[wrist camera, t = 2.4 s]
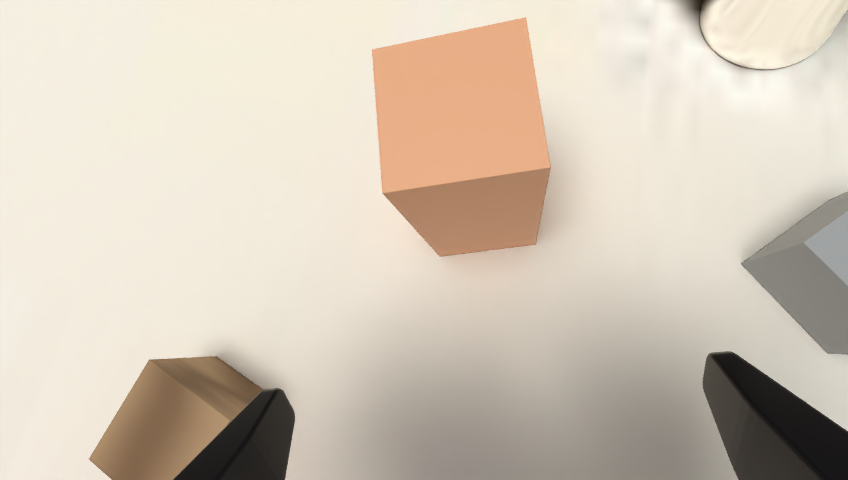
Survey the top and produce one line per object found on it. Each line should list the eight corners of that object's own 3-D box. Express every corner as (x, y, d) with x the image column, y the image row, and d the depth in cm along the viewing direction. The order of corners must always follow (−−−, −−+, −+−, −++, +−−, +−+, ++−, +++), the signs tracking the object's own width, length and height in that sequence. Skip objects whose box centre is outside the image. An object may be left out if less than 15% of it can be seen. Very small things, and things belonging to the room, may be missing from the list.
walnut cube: (285, 404, 25) (229, 420, 20) (236, 490, 24) (166, 527, 19) (216, 356, 26) (149, 359, 21) (169, 437, 25) (88, 459, 21)
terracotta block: (535, 244, 24) (550, 167, 13) (439, 256, 25) (382, 193, 14) (521, 154, 25) (526, 17, 14) (431, 169, 26) (372, 49, 15)
